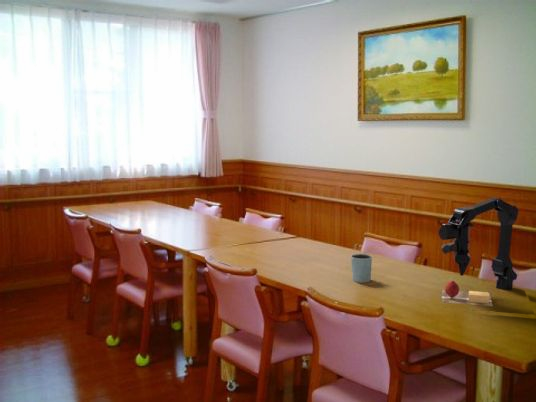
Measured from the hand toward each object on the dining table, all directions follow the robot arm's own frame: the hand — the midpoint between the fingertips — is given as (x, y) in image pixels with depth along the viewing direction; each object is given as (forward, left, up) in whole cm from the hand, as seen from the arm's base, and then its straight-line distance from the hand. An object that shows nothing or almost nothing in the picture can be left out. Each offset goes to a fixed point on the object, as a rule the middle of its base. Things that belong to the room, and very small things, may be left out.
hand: (461, 272), depth 256 cm
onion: (+4, +6, -10) cm, 12 cm away
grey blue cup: (+46, -16, -12) cm, 50 cm away
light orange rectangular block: (-7, +7, -10) cm, 14 cm away
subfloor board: (-2, +4, -11) cm, 12 cm away
